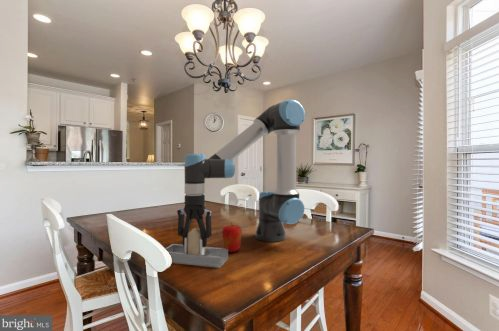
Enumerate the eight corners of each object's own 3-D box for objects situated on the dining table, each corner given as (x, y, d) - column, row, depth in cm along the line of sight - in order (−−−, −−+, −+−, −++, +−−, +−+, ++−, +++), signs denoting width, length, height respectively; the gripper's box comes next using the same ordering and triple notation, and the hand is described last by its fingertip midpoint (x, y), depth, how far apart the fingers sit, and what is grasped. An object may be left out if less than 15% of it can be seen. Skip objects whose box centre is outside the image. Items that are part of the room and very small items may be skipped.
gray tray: (228, 258, 100) (228, 248, 100) (219, 268, 90) (219, 257, 90) (172, 252, 105) (172, 243, 105) (159, 261, 96) (159, 251, 96)
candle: (189, 252, 101) (189, 227, 101) (203, 252, 101) (203, 227, 101) (186, 257, 95) (186, 231, 95) (201, 257, 96) (201, 231, 95)
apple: (236, 255, 102) (236, 226, 102) (218, 252, 105) (218, 224, 105) (245, 248, 110) (245, 221, 110) (227, 246, 113) (227, 219, 113)
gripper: (221, 193, 99) (220, 253, 99) (177, 192, 103) (177, 249, 103) (213, 196, 92) (213, 260, 92) (167, 194, 96) (167, 256, 96)
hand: (194, 254), depth 98 cm, fingers closed on candle, 5 cm apart
